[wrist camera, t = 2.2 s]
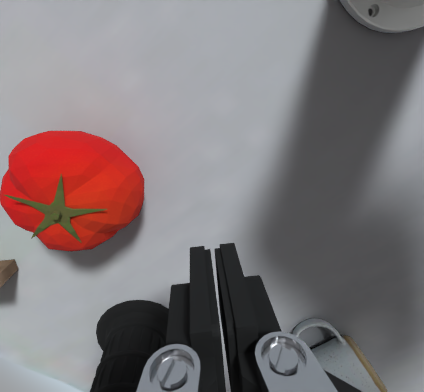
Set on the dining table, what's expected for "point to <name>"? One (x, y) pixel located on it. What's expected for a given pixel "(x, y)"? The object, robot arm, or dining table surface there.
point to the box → (7, 270)
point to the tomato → (71, 189)
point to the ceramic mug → (343, 359)
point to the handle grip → (128, 343)
